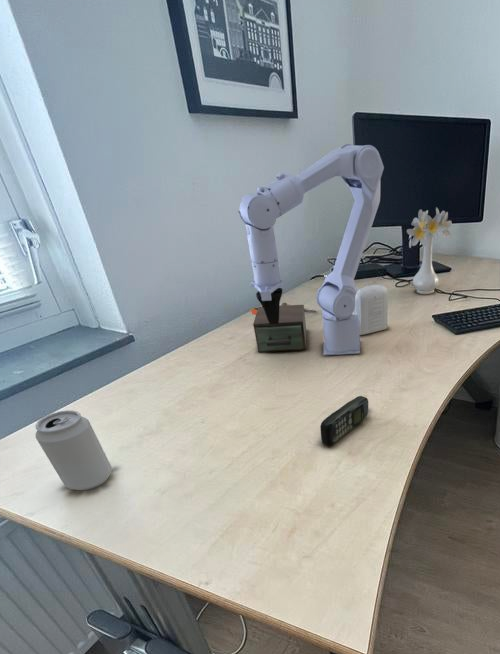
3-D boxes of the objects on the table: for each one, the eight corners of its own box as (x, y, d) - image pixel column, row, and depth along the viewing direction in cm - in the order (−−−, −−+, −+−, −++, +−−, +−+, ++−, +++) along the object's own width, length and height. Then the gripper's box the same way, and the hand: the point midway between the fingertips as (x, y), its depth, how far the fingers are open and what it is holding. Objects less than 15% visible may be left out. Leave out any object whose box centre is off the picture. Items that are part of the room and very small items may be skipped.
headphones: (319, 302, 138) (286, 306, 121) (319, 319, 140) (287, 326, 124) (274, 297, 143) (236, 300, 126) (274, 314, 146) (238, 319, 129)
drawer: (302, 355, 111) (300, 332, 107) (258, 357, 110) (253, 335, 107) (304, 331, 124) (301, 310, 120) (263, 333, 123) (260, 312, 119)
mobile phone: (329, 427, 77) (374, 391, 87) (315, 422, 79) (361, 387, 88) (331, 450, 80) (374, 412, 90) (318, 445, 82) (362, 408, 91)
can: (77, 467, 77) (44, 408, 70) (120, 464, 78) (92, 405, 70) (57, 495, 71) (19, 434, 64) (104, 492, 72) (71, 431, 64)
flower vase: (400, 298, 148) (403, 214, 133) (414, 283, 162) (418, 205, 146) (438, 302, 145) (445, 215, 129) (449, 286, 158) (457, 206, 142)
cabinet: (305, 350, 116) (302, 321, 111) (258, 352, 115) (253, 323, 110) (306, 331, 126) (303, 304, 121) (262, 333, 125) (258, 306, 121)
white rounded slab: (381, 325, 129) (381, 281, 121) (389, 329, 126) (390, 284, 119) (352, 332, 125) (350, 287, 117) (360, 337, 122) (358, 291, 114)
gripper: (249, 253, 99) (260, 313, 108) (241, 269, 88) (253, 335, 97) (280, 252, 100) (288, 312, 108) (276, 268, 88) (285, 333, 97)
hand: (274, 323), depth 102 cm, fingers closed
